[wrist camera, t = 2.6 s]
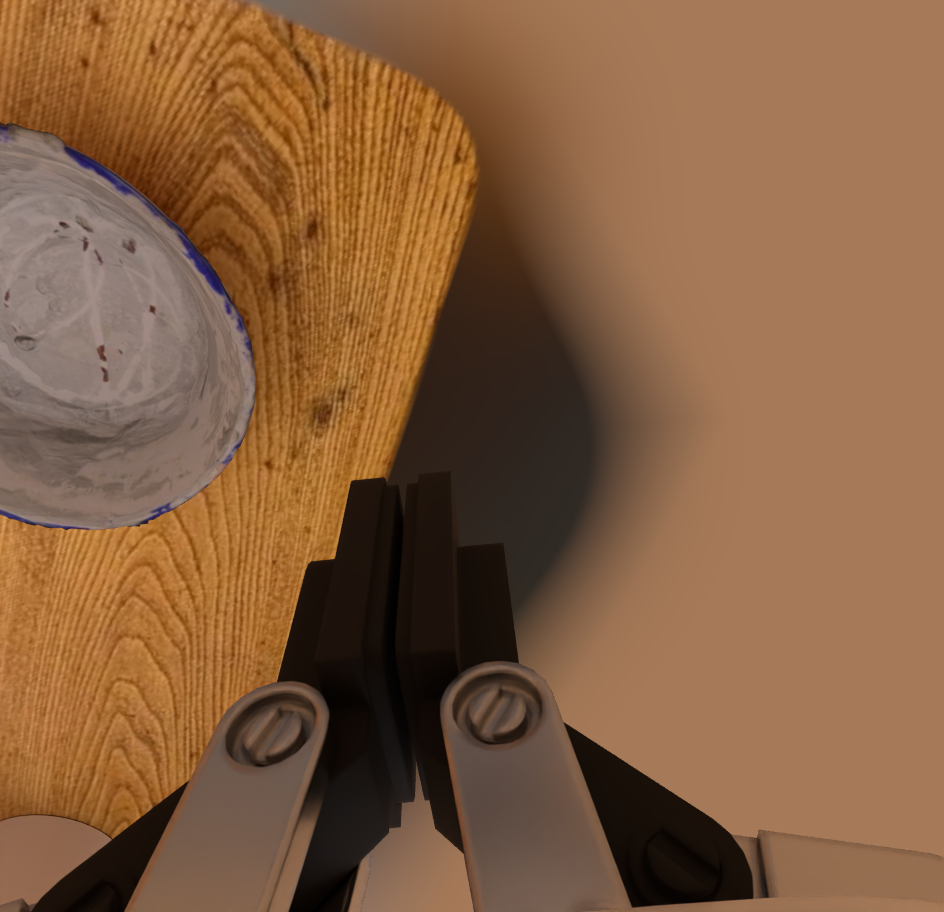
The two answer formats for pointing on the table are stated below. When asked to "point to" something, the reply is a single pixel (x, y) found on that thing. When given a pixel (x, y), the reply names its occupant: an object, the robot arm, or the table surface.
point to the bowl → (107, 347)
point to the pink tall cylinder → (42, 853)
